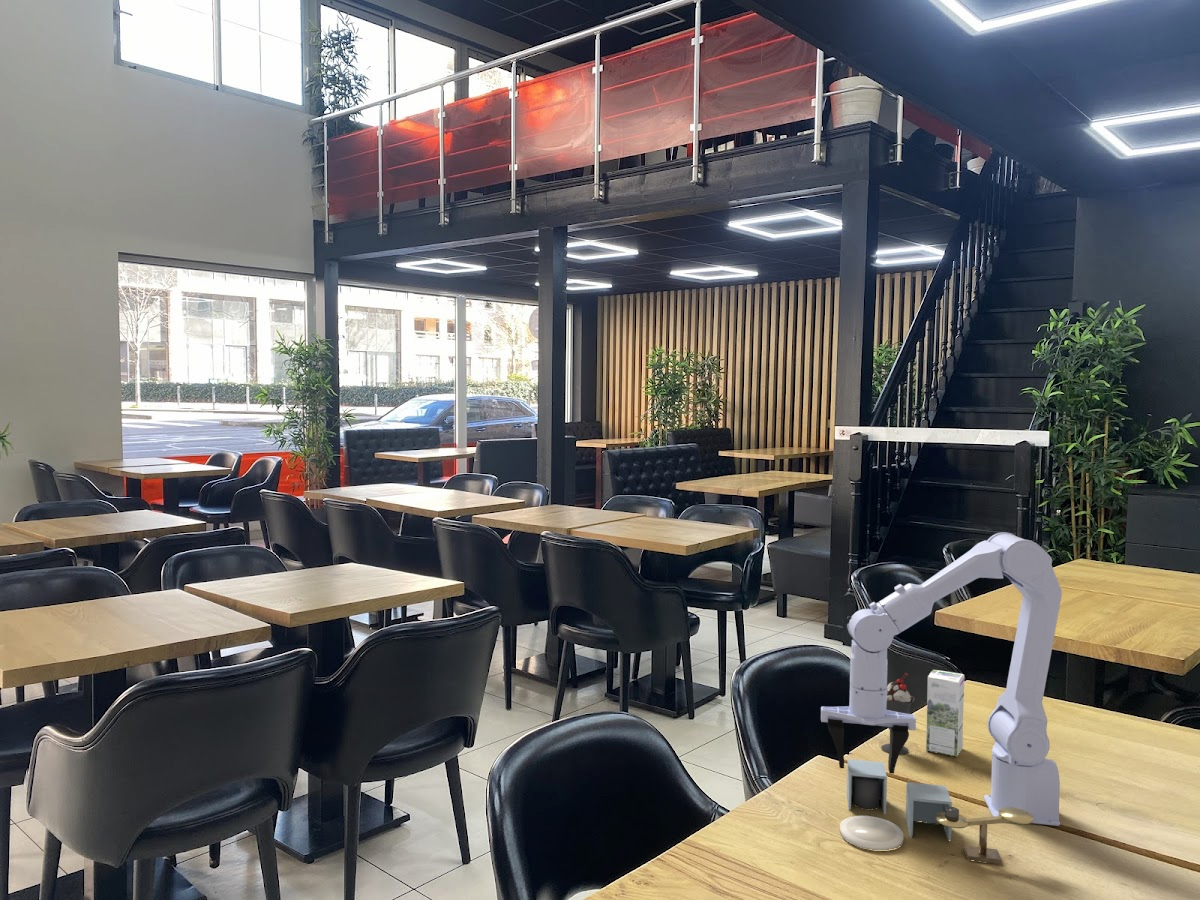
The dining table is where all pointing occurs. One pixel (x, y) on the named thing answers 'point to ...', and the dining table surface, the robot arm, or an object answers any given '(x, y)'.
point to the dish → (871, 833)
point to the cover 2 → (926, 804)
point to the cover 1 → (866, 770)
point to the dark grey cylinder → (866, 792)
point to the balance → (983, 829)
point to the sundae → (898, 703)
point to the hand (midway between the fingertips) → (866, 768)
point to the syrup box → (945, 712)
